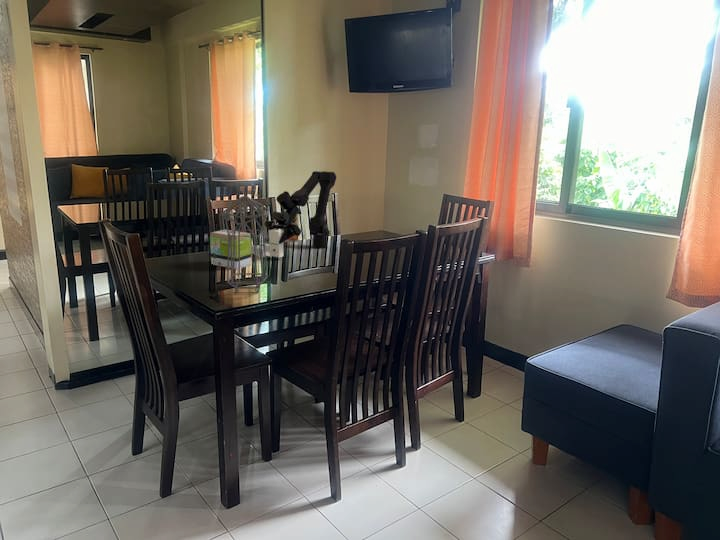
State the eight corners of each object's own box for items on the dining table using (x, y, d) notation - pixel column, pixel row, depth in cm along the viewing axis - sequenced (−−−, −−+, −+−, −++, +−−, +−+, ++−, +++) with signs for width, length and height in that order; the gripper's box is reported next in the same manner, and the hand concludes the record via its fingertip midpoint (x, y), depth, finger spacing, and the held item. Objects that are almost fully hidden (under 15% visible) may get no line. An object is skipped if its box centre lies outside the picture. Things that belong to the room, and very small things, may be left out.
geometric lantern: (271, 285, 202) (270, 194, 194) (265, 297, 187) (263, 199, 178) (230, 284, 202) (227, 193, 193) (221, 297, 187) (217, 198, 178)
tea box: (210, 265, 230) (208, 232, 227) (226, 260, 239) (224, 228, 235) (237, 270, 224) (235, 235, 220) (252, 265, 232) (251, 232, 229)
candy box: (282, 242, 283) (282, 214, 279) (281, 240, 287) (280, 212, 283) (298, 241, 286) (298, 213, 282) (297, 240, 290) (296, 212, 286)
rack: (249, 252, 257) (249, 245, 257) (266, 250, 263) (266, 243, 262) (260, 257, 247) (260, 250, 246) (278, 255, 252) (278, 248, 251)
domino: (269, 255, 245) (268, 230, 242) (273, 254, 248) (273, 229, 245) (279, 257, 242) (278, 231, 239) (283, 256, 245) (283, 230, 242)
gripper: (266, 203, 247) (250, 229, 241) (297, 206, 238) (281, 234, 231) (277, 217, 256) (262, 243, 250) (307, 221, 246) (292, 249, 240)
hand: (274, 242), depth 242 cm, fingers closed on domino, 6 cm apart
